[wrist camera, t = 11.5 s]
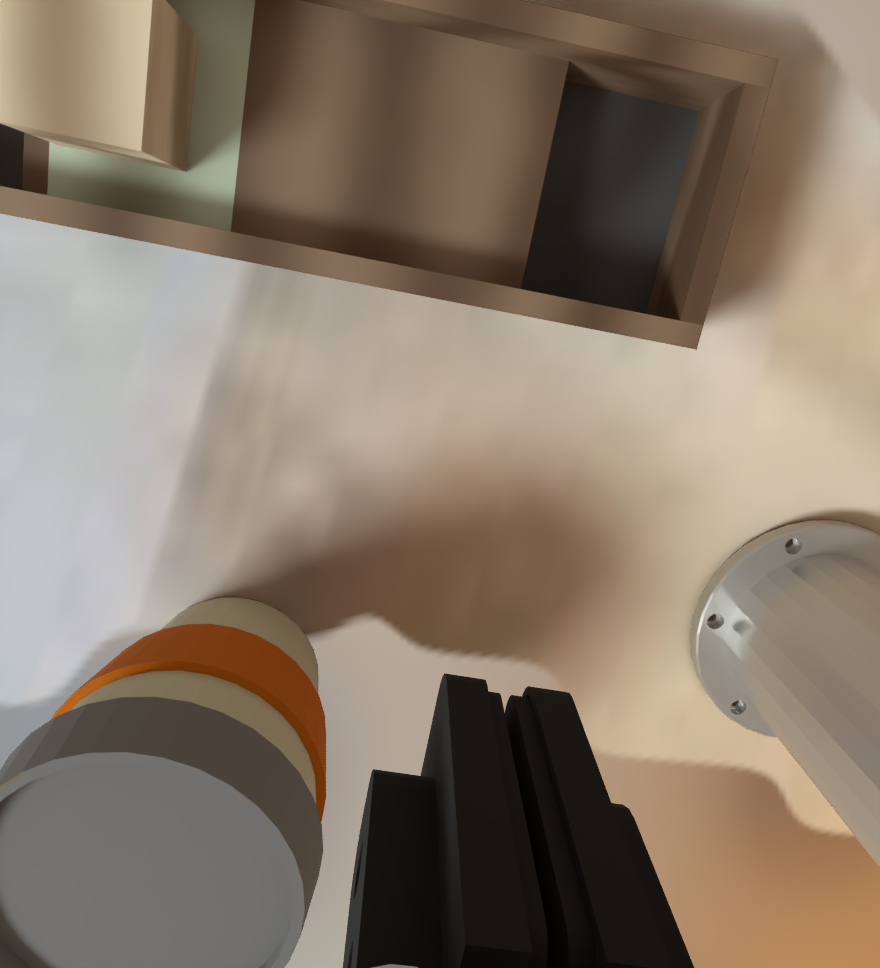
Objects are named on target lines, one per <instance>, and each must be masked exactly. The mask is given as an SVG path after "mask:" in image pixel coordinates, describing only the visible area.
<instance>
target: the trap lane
mask: <svg viewBox="0 0 880 968" xmlns="http://www.w3.org/2000/svg"><path fill="white" fill-rule="evenodd" d="M166 1H167V2H168V3H169V4H170V5H171V7H172V8H173V9H174V10H175V11H176V12H177V13H178V14H179V15H180V17H181V18H182V19H183V20H184V21H185V22H186V23H187V24H188V25H189V27H190V28H191V29H192V30H193V31H194V32H195V33H196V34H197V35H198V37H199V39H198V50H197V61H196V72H195V83H194V94H193V105H192V115H191V126H190V137H189V148H188V159H187V170H186V172H183V171H179V170H174V169H169V168H164V167H159V166H154V165H150V164H145V163H140V162H135V161H130V160H125V159H121V158H116V157H111V156H106V155H101V154H96V153H92V152H87V151H82V150H77V149H72V148H67V147H63V146H59V145H57V144H54V143H51V142H49V141H46V140H43V139H41V138H38V137H35V136H33V135H30V134H27V133H25V132H22V131H19V130H17V129H14V128H11V127H9V126H6V125H3V124H1V123H0V213H1V214H7V215H12V216H17V217H22V218H27V219H32V220H37V221H42V222H47V223H53V224H58V225H63V226H68V227H73V228H78V229H83V230H88V231H94V232H99V233H104V234H109V235H114V236H119V237H124V238H129V239H134V240H140V241H145V242H150V243H155V244H160V245H165V246H170V247H175V248H180V249H186V250H191V251H196V252H201V253H206V254H211V255H216V256H221V257H227V258H232V259H237V260H242V261H247V262H252V263H257V264H262V265H267V266H273V267H278V268H283V269H288V270H293V271H298V272H303V273H308V274H314V275H319V276H324V277H329V278H334V279H339V280H344V281H349V282H354V283H360V284H365V285H370V286H375V287H380V288H385V289H390V290H395V291H401V292H406V293H411V294H416V295H421V296H426V297H431V298H436V299H441V300H447V301H452V302H457V303H462V304H467V305H472V306H477V307H482V308H487V309H493V310H498V311H503V312H508V313H513V314H518V315H523V316H528V317H534V318H539V319H544V320H549V321H554V322H559V323H564V324H569V325H574V326H580V327H585V328H590V329H595V330H600V331H605V332H610V333H615V334H621V335H626V336H631V337H636V338H641V339H646V340H651V341H656V342H661V343H667V344H672V345H677V346H682V347H687V348H692V349H697V346H698V342H699V339H700V335H701V332H702V328H703V325H704V321H705V318H706V314H707V310H708V307H709V303H710V300H711V296H712V293H713V289H714V286H715V282H716V278H717V275H718V271H719V268H720V264H721V261H722V257H723V254H724V250H725V247H726V243H727V239H728V236H729V232H730V229H731V225H732V222H733V218H734V215H735V211H736V207H737V204H738V200H739V197H740V193H741V190H742V186H743V183H744V179H745V176H746V172H747V168H748V165H749V161H750V158H751V154H752V151H753V147H754V144H755V140H756V136H757V133H758V129H759V126H760V122H761V119H762V115H763V112H764V108H765V105H766V101H767V97H768V94H769V90H770V87H771V83H772V80H773V76H774V73H775V69H776V65H777V62H778V59H774V58H769V57H765V56H761V55H756V54H752V53H748V52H743V51H739V50H735V49H730V48H726V47H722V46H717V45H713V44H709V43H704V42H700V41H696V40H691V39H687V38H683V37H678V36H674V35H670V34H665V33H661V32H657V31H652V30H648V29H644V28H639V27H635V26H631V25H626V24H622V23H618V22H613V21H609V20H605V19H600V18H596V17H592V16H587V15H583V14H579V13H574V12H570V11H566V10H561V9H557V8H553V7H549V6H544V5H540V4H536V3H531V2H527V1H523V0H166Z"/></svg>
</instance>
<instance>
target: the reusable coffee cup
mask: <svg viewBox="0 0 880 968" xmlns="http://www.w3.org/2000/svg"><path fill="white" fill-rule="evenodd" d="M325 799H326V729H325V716H324V712H323V708H322V705H321V701H320V697H319V695H318V665H317V660H316V657H315V653H314V650H313V648H312V646H311V644H310V642H309V640H308V638H307V636H306V635H305V634H304V633H303V631H302V630H301V629H300V628H299V626H298V625H297V624H296V623H295V622H293V621H292V620H291V619H290V618H289V617H288V616H286V615H285V614H284V613H282V612H280V611H278V610H277V609H275V608H273V607H271V606H269V605H267V604H264V603H261V602H258V601H255V600H250V599H244V598H238V597H231V598H217V599H212V600H207V601H203V602H201V603H198V604H196V605H193V606H191V607H189V608H188V609H186V610H185V611H183V612H182V613H180V614H179V615H177V616H176V617H175V618H174V619H173V620H171V621H170V622H169V623H168V624H167V625H166V626H165V627H163V628H162V629H161V630H160V631H158V632H155V633H153V634H150V635H148V636H145V637H143V638H142V639H140V640H139V641H137V642H136V643H134V644H133V645H131V646H129V647H128V648H126V649H125V650H124V651H123V652H121V653H120V654H119V655H118V656H117V657H116V658H114V659H113V660H112V661H111V662H110V663H109V664H107V665H106V666H105V667H104V668H103V669H101V670H100V671H99V672H98V673H97V674H96V675H95V676H93V677H92V678H91V679H90V680H89V681H88V682H86V683H85V684H84V685H83V686H81V687H80V688H79V689H78V690H77V691H76V692H75V693H73V694H72V696H71V697H70V698H69V699H68V700H67V701H66V702H65V703H64V704H63V705H62V706H61V707H60V708H59V709H58V710H57V711H56V712H55V714H54V716H53V718H52V719H51V720H50V721H49V722H47V723H46V724H44V725H43V726H41V727H40V728H38V729H37V730H35V731H34V732H32V733H31V734H30V735H29V736H28V737H27V738H26V739H25V740H24V741H23V742H22V743H21V744H20V745H19V746H18V747H17V748H16V749H15V750H14V751H13V752H12V754H11V755H10V756H9V757H8V759H7V761H6V762H5V764H4V765H3V767H2V768H1V770H0V968H284V967H285V966H286V965H287V963H288V962H289V960H290V958H291V956H292V953H293V951H294V949H295V947H296V945H297V942H298V940H299V938H300V935H301V932H302V929H303V926H304V922H305V919H306V916H307V912H308V909H309V906H310V903H311V899H312V896H313V893H314V889H315V886H316V883H317V880H318V876H319V871H320V870H319V869H320V865H321V860H322V854H323V841H322V824H321V821H322V815H323V811H324V805H325Z"/></svg>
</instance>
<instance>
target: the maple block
mask: <svg viewBox="0 0 880 968" xmlns="http://www.w3.org/2000/svg"><path fill="white" fill-rule="evenodd" d="M198 39H199V37H198V35H197V34H196V33H195V32H194V31H193V30H192V29H191V28H190V27H189V25H188V24H187V23H186V22H185V21H184V20H183V19H182V18H181V17H180V15H179V14H178V13H177V12H176V11H175V10H174V9H173V8H172V7H171V5H170V4H169V3H168V2H167V1H166V0H0V123H1V124H3V125H6V126H9V127H11V128H14V129H17V130H19V131H22V132H25V133H27V134H30V135H33V136H35V137H38V138H41V139H43V140H46V141H49V142H51V143H54V144H57V145H59V146H63V147H67V148H72V149H77V150H82V151H87V152H92V153H96V154H101V155H106V156H111V157H116V158H121V159H125V160H130V161H135V162H140V163H145V164H150V165H154V166H159V167H164V168H169V169H174V170H179V171H183V172H186V170H187V159H188V148H189V137H190V126H191V115H192V105H193V94H194V83H195V72H196V61H197V50H198Z"/></svg>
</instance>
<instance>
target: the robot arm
mask: <svg viewBox="0 0 880 968" xmlns="http://www.w3.org/2000/svg"><path fill="white" fill-rule="evenodd" d="M787 541H788V543H787ZM711 615H712V616H711ZM710 616H711V617H710ZM690 644H691V657H692V661H693V664H694V668H695V672H696V675H697V677H698V678H699V680H700V682H701V684H702V686H703V688H704V690H705V691H706V693H707V694H708V695H709V697H710V698H711V699H712V701H713V702H714V703H715V705H716V706H717V707H718V708H719V709H720V710H721V711H722V712H723V713H724V714H725V715H726V716H727V717H728V718H730V719H731V720H733V721H735V722H736V723H738V724H740V725H741V726H743V727H745V728H746V729H749V730H751V731H754V732H757V733H760V734H763V735H766V736H772V737H778V739H779V740H780V741H781V743H782V744H783V745H784V746H785V748H786V749H787V750H788V751H789V753H790V754H791V755H792V756H793V758H794V759H795V760H796V762H797V763H798V764H799V765H800V767H801V768H802V769H803V770H804V772H805V773H806V774H807V776H808V777H809V778H810V779H811V781H812V782H813V783H814V784H815V786H816V787H817V788H818V790H819V791H820V792H821V793H822V795H823V796H824V797H825V798H826V800H827V801H828V802H829V804H830V805H831V806H832V807H833V809H834V810H835V811H836V812H837V814H838V815H839V816H840V818H841V819H842V820H843V821H844V823H845V824H846V825H847V826H848V828H849V829H850V830H851V832H852V833H853V834H854V835H855V837H856V838H857V839H858V840H859V842H860V843H861V844H862V846H863V847H864V848H865V849H866V851H867V852H868V853H869V854H870V856H871V857H872V858H873V860H874V861H875V862H876V863H877V865H878V866H879V867H880V535H879V534H877V533H875V532H873V531H871V530H868V529H866V528H863V527H861V526H858V525H856V524H851V523H846V522H840V521H834V520H812V521H805V522H800V523H795V524H790V525H786V526H783V527H781V528H778V529H775V530H773V531H770V532H767V533H765V534H763V535H761V536H760V537H758V538H756V539H755V540H753V541H751V542H749V543H748V544H746V545H744V546H743V547H742V548H741V549H740V550H738V551H737V552H736V553H735V554H733V555H732V556H731V557H730V558H729V559H727V560H726V562H725V563H724V564H723V565H722V566H721V567H720V569H719V570H718V571H717V572H716V573H715V574H714V575H713V577H712V578H711V580H710V581H709V583H708V585H707V586H706V588H705V590H704V591H703V593H702V595H701V597H700V599H699V602H698V605H697V607H696V610H695V613H694V616H693V621H692V628H691V634H690ZM343 968H694V966H693V964H692V961H691V959H690V956H689V954H688V951H687V949H686V946H685V944H684V941H683V939H682V936H681V934H680V932H679V929H678V927H677V924H676V922H675V919H674V916H673V914H672V911H671V909H670V906H669V904H668V902H667V899H666V897H665V894H664V892H663V889H662V886H661V884H660V881H659V879H658V877H657V874H656V872H655V869H654V867H653V864H652V862H651V859H650V857H649V854H648V852H647V849H646V847H645V844H644V842H643V839H642V837H641V834H640V832H639V829H638V827H637V824H636V822H635V819H634V817H633V816H632V814H631V812H630V810H629V809H628V808H627V807H625V806H624V805H621V804H614V803H611V801H610V798H609V796H608V793H607V790H606V788H605V785H604V782H603V780H602V777H601V774H600V772H599V769H598V766H597V763H596V761H595V758H594V755H593V752H592V750H591V747H590V744H589V742H588V739H587V736H586V733H585V731H584V728H583V725H582V723H581V720H580V717H579V715H578V712H577V709H576V706H575V704H574V701H573V698H572V696H571V695H570V693H567V692H561V691H555V690H548V689H542V688H535V687H527V688H526V689H525V691H524V693H523V696H522V697H521V696H514V695H511V696H510V697H509V700H508V702H507V706H506V710H505V714H504V708H503V704H502V699H501V695H500V694H499V693H494V692H488V687H487V683H486V680H483V679H477V678H470V677H464V676H457V675H450V674H444V675H443V677H442V680H441V684H440V688H439V693H438V697H437V702H436V707H435V711H434V716H433V721H432V725H431V730H430V735H429V739H428V744H427V749H426V753H425V758H424V763H423V767H422V772H421V776H416V775H409V774H402V773H395V772H387V771H381V770H373V771H372V774H371V778H370V782H369V787H368V792H367V798H366V803H365V808H364V813H363V818H362V824H361V829H360V835H359V841H358V847H357V854H356V860H355V868H354V874H353V882H352V890H351V898H350V907H349V917H348V926H347V935H346V944H345V953H344V962H343Z"/></svg>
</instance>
